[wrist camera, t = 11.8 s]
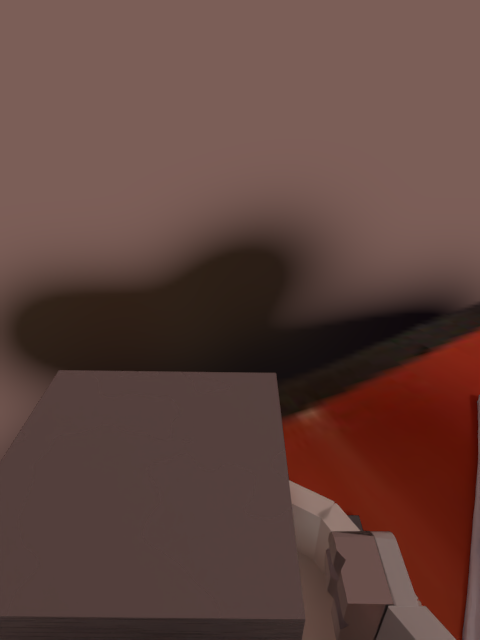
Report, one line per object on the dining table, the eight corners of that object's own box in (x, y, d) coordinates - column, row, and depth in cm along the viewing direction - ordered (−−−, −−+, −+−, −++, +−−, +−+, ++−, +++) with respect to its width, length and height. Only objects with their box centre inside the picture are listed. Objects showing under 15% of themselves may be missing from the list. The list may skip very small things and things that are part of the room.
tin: (257, 623, 16) (275, 372, 10) (264, 836, 11) (305, 618, 5) (124, 622, 16) (58, 370, 10) (78, 835, 11) (-98, 615, 5)
